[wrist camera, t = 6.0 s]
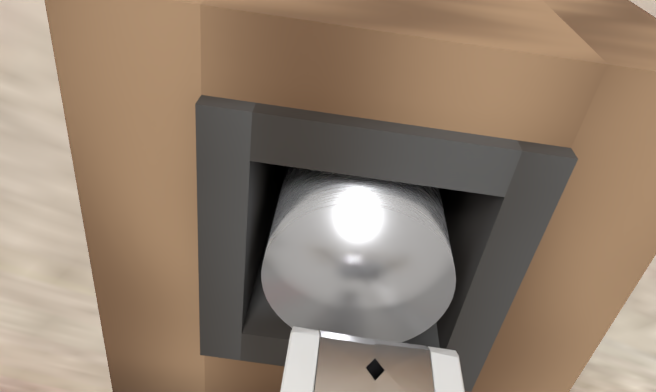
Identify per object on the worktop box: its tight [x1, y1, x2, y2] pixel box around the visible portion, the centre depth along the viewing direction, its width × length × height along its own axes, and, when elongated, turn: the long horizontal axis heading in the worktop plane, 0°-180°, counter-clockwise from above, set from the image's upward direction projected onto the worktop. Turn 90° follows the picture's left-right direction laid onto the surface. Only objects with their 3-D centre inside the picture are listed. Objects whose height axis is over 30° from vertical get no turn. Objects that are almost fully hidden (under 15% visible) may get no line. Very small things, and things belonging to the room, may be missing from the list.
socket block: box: [45, 0, 656, 392], centre depth 18 cm, size 12×20×10 cm, turn 173°
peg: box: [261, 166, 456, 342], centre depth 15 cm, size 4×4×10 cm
